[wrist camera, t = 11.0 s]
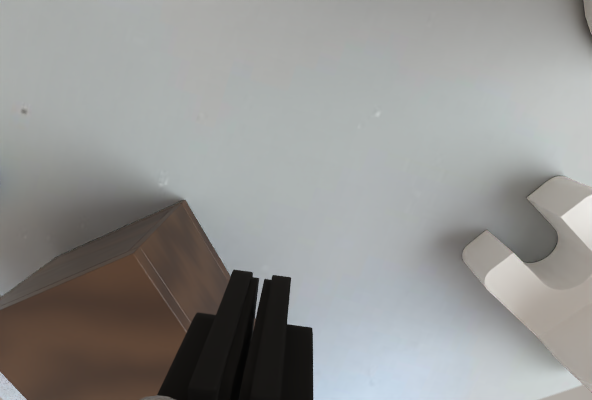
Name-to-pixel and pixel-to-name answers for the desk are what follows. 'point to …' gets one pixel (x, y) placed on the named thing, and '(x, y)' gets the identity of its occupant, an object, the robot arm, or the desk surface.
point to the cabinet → (111, 311)
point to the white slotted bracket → (548, 276)
